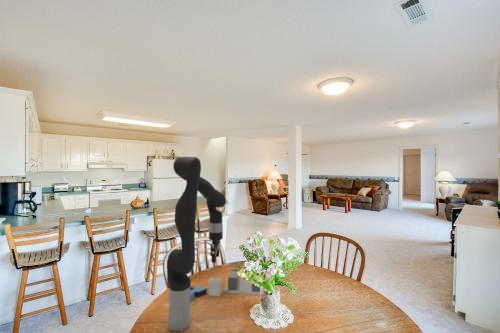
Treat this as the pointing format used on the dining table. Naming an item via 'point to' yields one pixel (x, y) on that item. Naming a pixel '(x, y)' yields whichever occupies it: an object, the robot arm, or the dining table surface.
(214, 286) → the module
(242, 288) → the rail board
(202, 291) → the pistol
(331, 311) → the dining table surface
